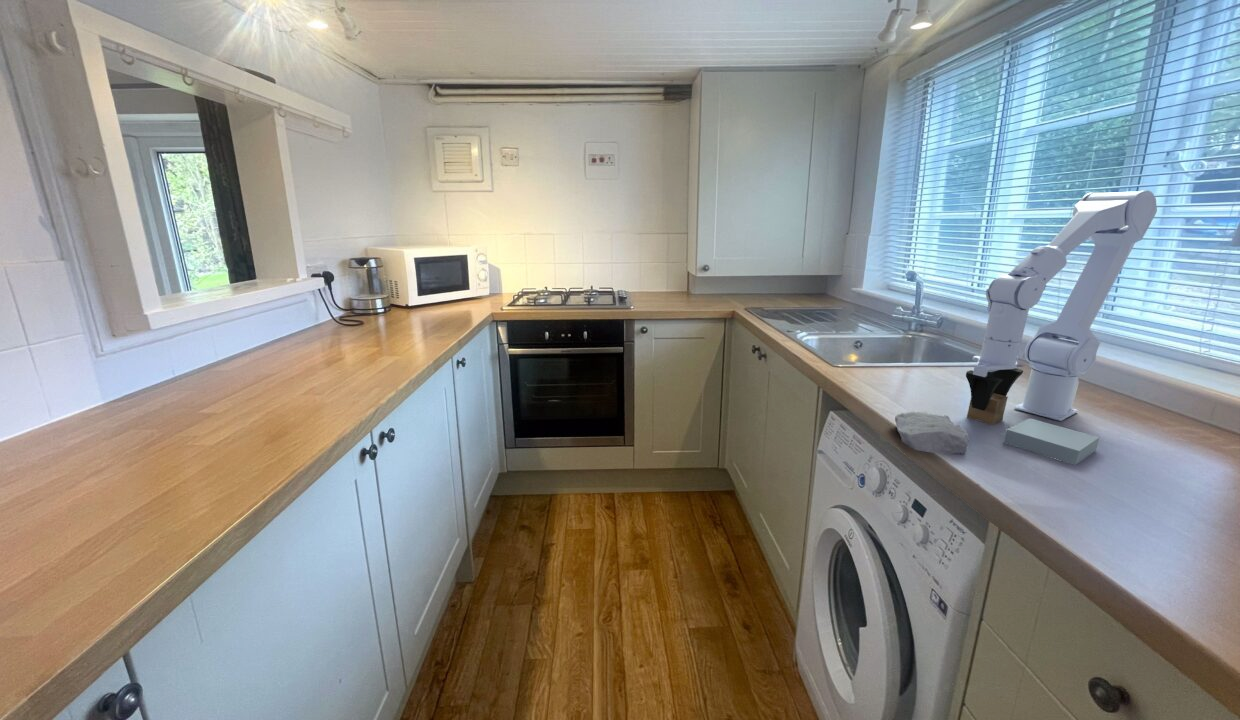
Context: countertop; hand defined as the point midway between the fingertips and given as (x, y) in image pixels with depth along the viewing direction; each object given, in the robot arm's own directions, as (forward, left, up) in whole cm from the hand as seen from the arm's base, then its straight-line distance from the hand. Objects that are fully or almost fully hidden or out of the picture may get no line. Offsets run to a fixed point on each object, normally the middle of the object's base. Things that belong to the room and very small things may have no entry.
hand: (987, 405), depth 99 cm
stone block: (+20, -1, -3) cm, 21 cm away
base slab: (+5, +12, -3) cm, 13 cm away
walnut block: (0, 0, -3) cm, 3 cm away
